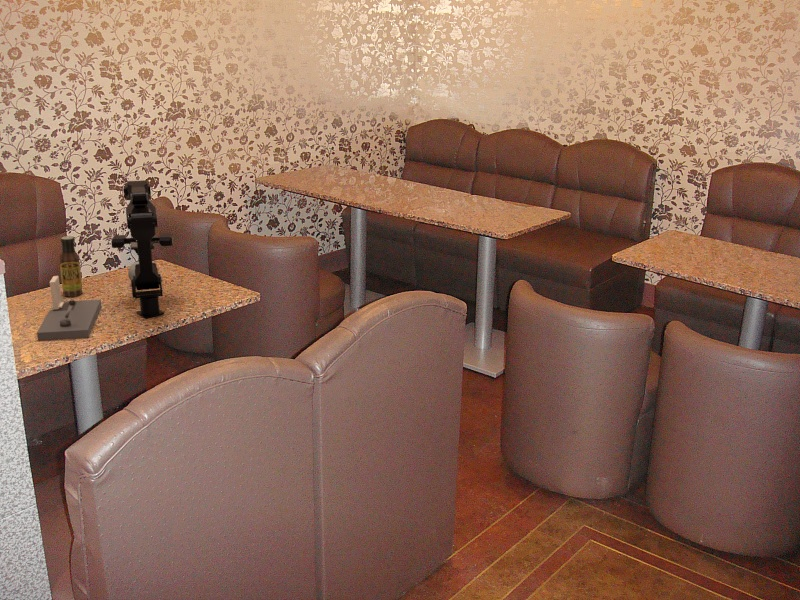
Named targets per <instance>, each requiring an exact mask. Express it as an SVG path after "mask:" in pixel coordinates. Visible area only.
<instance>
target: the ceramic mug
mask: <svg viewBox="0 0 800 600" xmlns="http://www.w3.org/2000/svg"><path fill="white" fill-rule="evenodd" d="M136 264H139V260H138V261H134V262H133V263H132V264H131V265H129V269H128V273H127V274H128V279H129V280H130V281H131V280H132V278H133V276H135V265H136ZM162 280H163V276H162V275H161V281H162Z"/></svg>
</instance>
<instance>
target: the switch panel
mask: <svg viewBox="0 0 800 600" xmlns="http://www.w3.org/2000/svg"><path fill="white" fill-rule="evenodd" d="M69 301H70V300H68V301H67V300H65V301H64V300H62V302H64V305H63V307H62V308H59V309H56V310H53V309H52V308H51V307H50V309H49V311H48V312H47V314H46V316H45V318H44V319H43V321H42V323H41V324H40V327H39V328H38V330H37V332H36V337H37V341H38V340H42V341H54V340H55V341H56V340H58V339H59V340H72V339H74V340H75V339H89V338H90V336H91V333H92V330H93V328H94V326H95V323H96V321H97V318H98V316H99V314H100V312H101V309H102V300H101V299H86V300H83V299H82V300H74V301H75V305H73V307H72V309H71V312H70V315H69V317H68V318H65V315H66V312H67V310H68V307H69Z"/></svg>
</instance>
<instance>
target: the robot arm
mask: <svg viewBox="0 0 800 600" xmlns="http://www.w3.org/2000/svg"><path fill="white" fill-rule="evenodd" d="M122 189H123V198H124V199H125V200H126V201H129V203H128V205H126V207H125V215H126V225H127V230H129V232H130V236H131V237H127V236H126V234H117V235H116V234H115V235H113V237H112V239H111V248H112V249H121V248H123V247H124V246H125V245H130V246H131V247H130V250H132V251H134V252H135V253H136V255H137V257H138V261H139V264H136V265H135V276H133V278H132V280H130V283H131V293H132V295H131V296H132V298H133V299H135V300H138V299H139V306H140V310H137V311H136V314H138V315H139V316H140V317H142V318H144V319H149V318H152V317H153V318H154V317H156V316H162V315H164V314H165V311H163V310H161V309H160V300H159V297H163V295H164V293H163V286H162V285H163V284H162V280H161V276H162V275H161V273H159V271H158V270H159V269H158V266H157V263H156V262H153V255H152V254H153V252H152V250H155V248H156V244H159V245H160V246H162V247H172V246H173V244H174V235H173V234H172V233H160V234H159V236H156V234H157V233H156V228H158V218H157V217H158V215H157V209H156V208H157V207H156V206H155V205H154V204H153V203H152V202H151V199H152V192H151V183H148V180H147V179H146V180H128V181H127V180H126V184H124V186H123V188H122Z"/></svg>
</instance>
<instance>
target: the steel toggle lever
mask: <svg viewBox="0 0 800 600" xmlns="http://www.w3.org/2000/svg"><path fill="white" fill-rule="evenodd" d="M68 301H69V307H68V310H67V312H66V315H65V318H68V317H69V315H70V312H71V309H72V307H73V305H75V301H76V300H74V299H69V300H68Z"/></svg>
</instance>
